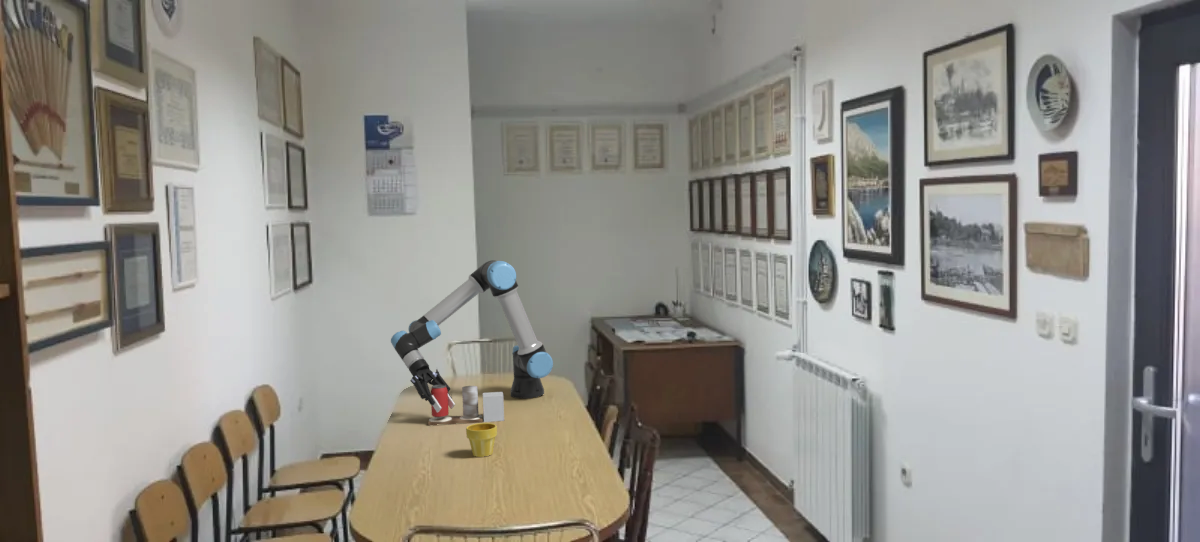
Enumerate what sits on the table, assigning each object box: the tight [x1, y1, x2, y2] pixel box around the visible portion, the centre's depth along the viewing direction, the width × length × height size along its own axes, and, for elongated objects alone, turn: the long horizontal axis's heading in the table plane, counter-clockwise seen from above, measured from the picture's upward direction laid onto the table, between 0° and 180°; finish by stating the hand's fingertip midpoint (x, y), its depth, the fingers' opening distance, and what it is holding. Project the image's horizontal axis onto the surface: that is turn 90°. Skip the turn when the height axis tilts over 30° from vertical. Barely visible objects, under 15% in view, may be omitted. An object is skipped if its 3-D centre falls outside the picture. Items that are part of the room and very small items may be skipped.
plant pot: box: [465, 422, 498, 458], centre depth 294 cm, size 10×10×10 cm
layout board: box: [427, 385, 484, 426], centre depth 342 cm, size 21×9×13 cm, turn 98°
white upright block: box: [482, 391, 505, 423], centre depth 345 cm, size 8×8×10 cm
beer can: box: [430, 385, 450, 418], centre depth 342 cm, size 7×7×12 cm
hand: (446, 408), depth 340 cm, fingers closed on beer can, 6 cm apart
